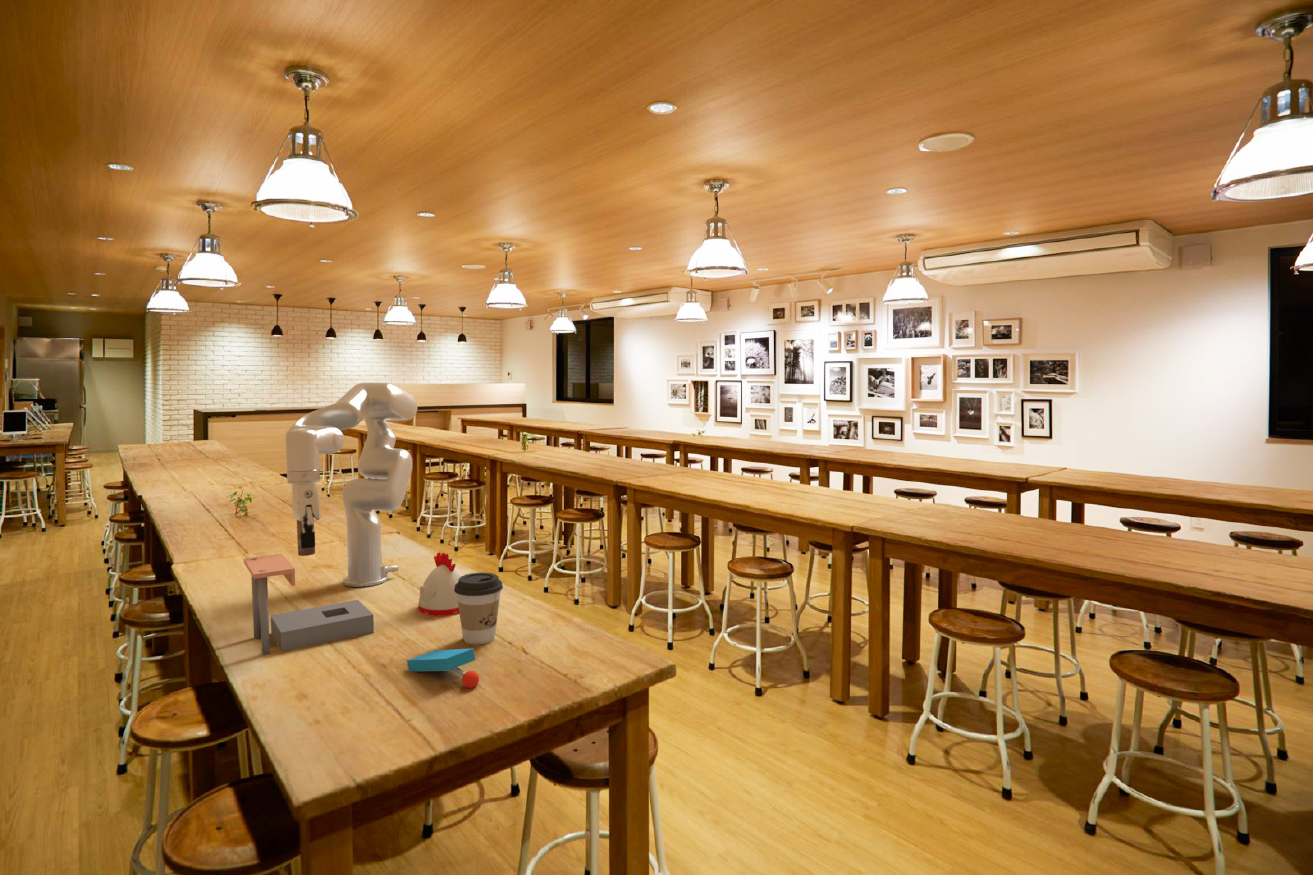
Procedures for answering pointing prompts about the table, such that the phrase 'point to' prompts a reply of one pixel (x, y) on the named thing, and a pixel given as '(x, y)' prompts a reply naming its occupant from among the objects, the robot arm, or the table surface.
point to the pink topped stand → (265, 591)
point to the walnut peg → (300, 550)
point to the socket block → (321, 624)
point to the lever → (446, 663)
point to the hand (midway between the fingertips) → (306, 545)
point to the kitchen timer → (440, 588)
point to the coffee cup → (478, 606)
